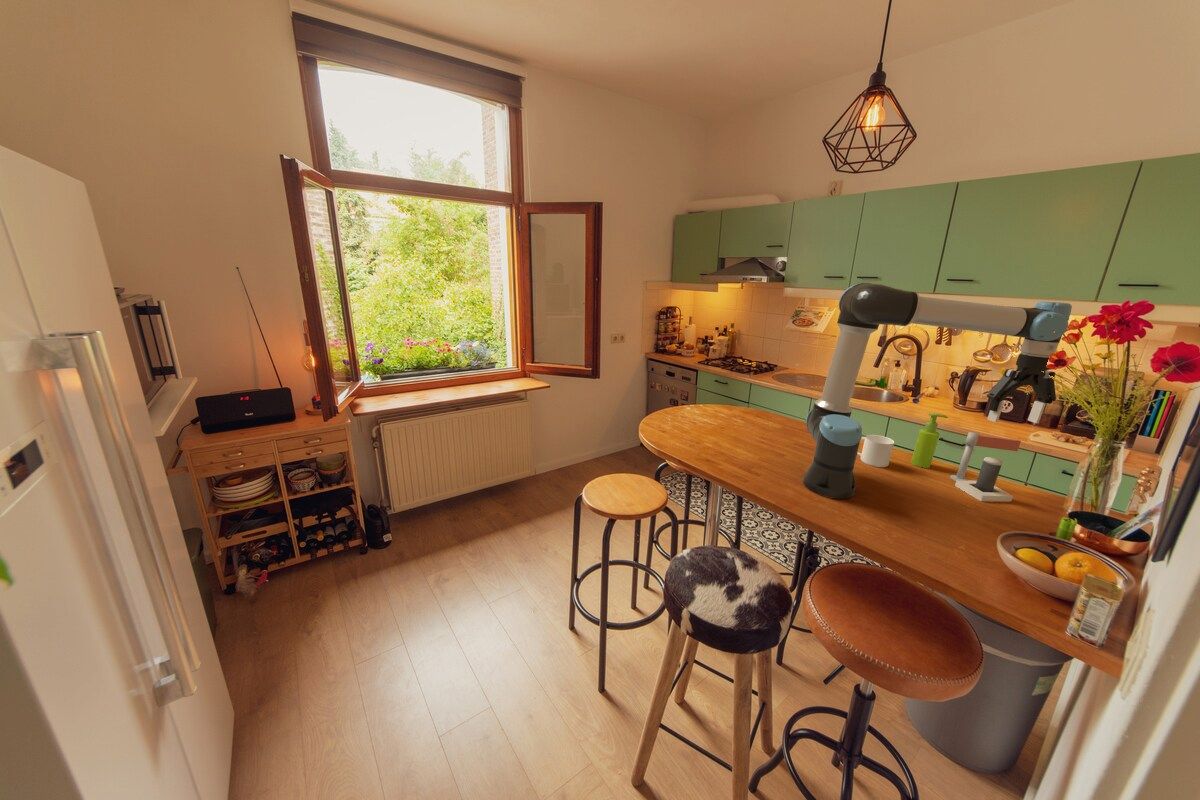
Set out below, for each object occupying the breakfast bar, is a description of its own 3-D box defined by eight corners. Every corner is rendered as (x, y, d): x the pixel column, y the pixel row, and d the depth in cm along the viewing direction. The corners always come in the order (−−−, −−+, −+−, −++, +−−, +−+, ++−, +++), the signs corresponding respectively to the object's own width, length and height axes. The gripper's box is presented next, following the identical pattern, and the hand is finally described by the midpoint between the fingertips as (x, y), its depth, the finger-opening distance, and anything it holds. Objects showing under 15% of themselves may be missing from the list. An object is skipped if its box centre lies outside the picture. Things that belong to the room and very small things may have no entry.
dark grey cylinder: (981, 496, 138) (993, 463, 134) (969, 490, 142) (980, 457, 138) (994, 496, 138) (1006, 463, 134) (982, 490, 142) (993, 457, 139)
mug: (893, 464, 159) (899, 441, 157) (880, 469, 155) (886, 445, 152) (860, 452, 169) (865, 430, 166) (847, 457, 165) (852, 434, 162)
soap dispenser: (936, 469, 157) (951, 417, 151) (915, 467, 158) (929, 415, 152) (928, 462, 162) (942, 412, 156) (908, 460, 163) (921, 410, 157)
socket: (980, 501, 135) (993, 463, 131) (941, 477, 150) (951, 443, 146) (1011, 501, 136) (1024, 464, 132) (968, 477, 151) (979, 443, 147)
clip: (1018, 452, 139) (1022, 441, 138) (967, 445, 144) (970, 434, 143) (1014, 449, 142) (1017, 437, 141) (963, 442, 146) (966, 431, 145)
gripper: (1009, 356, 123) (985, 424, 130) (1089, 358, 125) (1062, 426, 131) (985, 350, 131) (964, 416, 137) (1061, 353, 132) (1037, 418, 139)
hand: (1012, 421), depth 134 cm, fingers open, 13 cm apart
